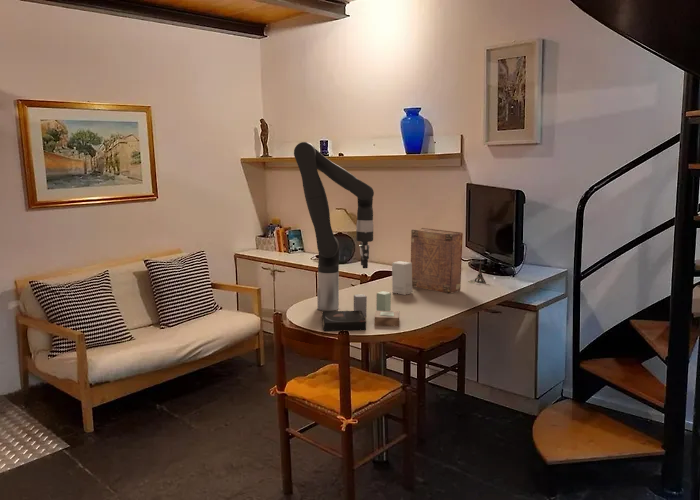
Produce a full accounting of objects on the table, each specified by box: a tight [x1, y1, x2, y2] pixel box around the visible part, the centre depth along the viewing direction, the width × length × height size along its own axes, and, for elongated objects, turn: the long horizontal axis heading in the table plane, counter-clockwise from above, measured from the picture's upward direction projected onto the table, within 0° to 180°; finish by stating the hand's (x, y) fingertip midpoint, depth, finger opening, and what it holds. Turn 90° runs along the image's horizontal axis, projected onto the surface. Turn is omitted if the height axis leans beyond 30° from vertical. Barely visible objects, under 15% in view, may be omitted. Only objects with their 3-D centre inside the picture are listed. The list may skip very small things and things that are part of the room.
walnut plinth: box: [373, 310, 400, 327], centre depth 251 cm, size 10×10×4 cm
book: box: [410, 227, 464, 294], centre depth 309 cm, size 25×9×30 cm, turn 47°
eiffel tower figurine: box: [468, 260, 487, 285], centre depth 326 cm, size 15×10×13 cm
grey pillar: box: [353, 293, 368, 318], centre depth 260 cm, size 4×4×9 cm
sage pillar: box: [375, 290, 392, 312], centre depth 265 cm, size 4×4×9 cm
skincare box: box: [391, 260, 413, 296], centre depth 300 cm, size 8×7×16 cm
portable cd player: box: [321, 310, 367, 332], centre depth 247 cm, size 16×17×4 cm
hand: (364, 266), depth 267 cm, fingers open, 8 cm apart
